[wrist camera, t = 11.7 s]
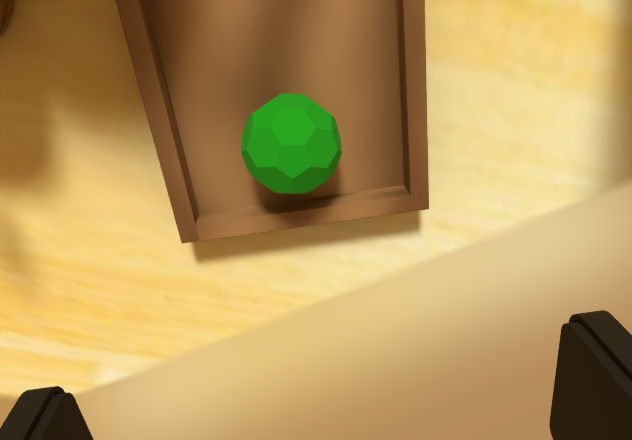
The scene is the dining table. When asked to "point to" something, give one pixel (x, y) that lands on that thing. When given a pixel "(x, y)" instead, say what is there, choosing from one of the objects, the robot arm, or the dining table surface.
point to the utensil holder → (5, 14)
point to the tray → (267, 83)
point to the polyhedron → (291, 144)
